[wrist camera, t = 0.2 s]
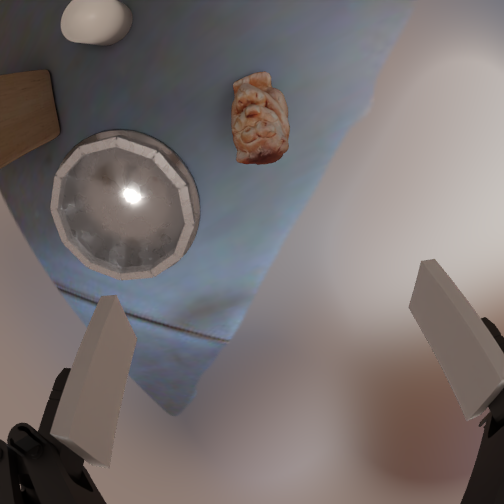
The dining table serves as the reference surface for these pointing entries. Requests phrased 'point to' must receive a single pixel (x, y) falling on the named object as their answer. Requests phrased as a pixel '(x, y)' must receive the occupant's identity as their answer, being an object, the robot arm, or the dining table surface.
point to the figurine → (259, 120)
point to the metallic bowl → (125, 204)
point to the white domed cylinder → (96, 21)
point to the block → (26, 113)
